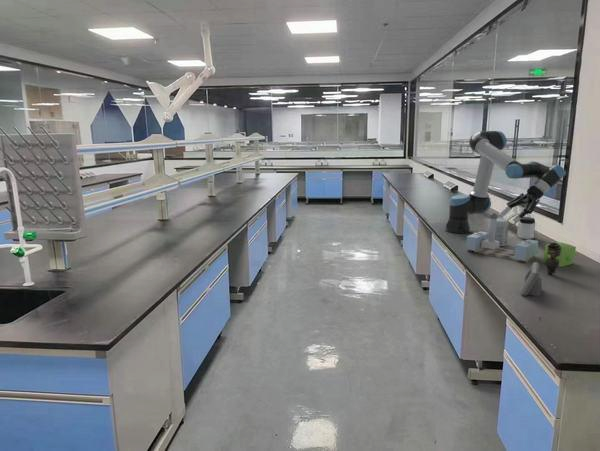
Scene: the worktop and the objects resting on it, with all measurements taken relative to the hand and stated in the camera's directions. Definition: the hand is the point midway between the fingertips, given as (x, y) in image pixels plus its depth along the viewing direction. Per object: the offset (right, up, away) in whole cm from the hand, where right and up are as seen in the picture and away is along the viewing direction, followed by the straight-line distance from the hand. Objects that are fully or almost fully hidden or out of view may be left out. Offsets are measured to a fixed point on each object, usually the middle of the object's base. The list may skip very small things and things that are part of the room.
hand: (507, 218), depth 216 cm
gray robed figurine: (-16, -31, -49) cm, 60 cm away
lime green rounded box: (+17, -23, -17) cm, 33 cm away
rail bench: (-4, -19, 0) cm, 19 cm away
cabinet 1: (-12, -15, +9) cm, 22 cm away
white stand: (-7, -15, +4) cm, 17 cm away
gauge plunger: (-12, -14, +8) cm, 20 cm away
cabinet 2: (+5, -19, -9) cm, 22 cm away
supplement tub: (+4, -15, +19) cm, 24 cm away
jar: (+28, -11, +33) cm, 45 cm away
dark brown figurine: (+4, -26, -31) cm, 41 cm away
